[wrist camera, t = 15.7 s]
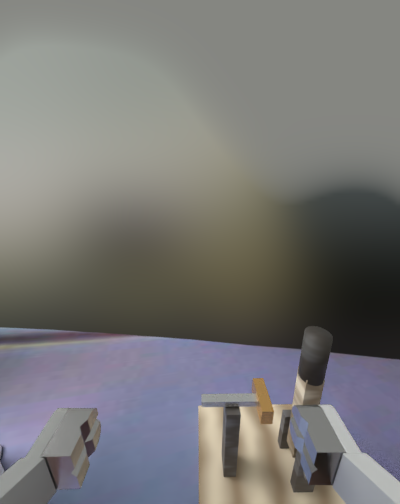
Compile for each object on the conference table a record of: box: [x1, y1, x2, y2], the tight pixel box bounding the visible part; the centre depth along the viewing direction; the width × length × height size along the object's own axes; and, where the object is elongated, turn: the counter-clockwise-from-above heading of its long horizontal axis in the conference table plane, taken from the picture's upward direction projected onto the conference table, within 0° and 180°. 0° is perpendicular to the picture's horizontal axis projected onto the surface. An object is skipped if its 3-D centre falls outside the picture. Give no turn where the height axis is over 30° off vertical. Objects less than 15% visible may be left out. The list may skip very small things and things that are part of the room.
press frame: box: [199, 404, 346, 504], centre depth 33 cm, size 24×20×16 cm
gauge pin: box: [202, 378, 274, 424], centre depth 31 cm, size 10×5×2 cm, turn 91°
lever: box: [287, 326, 333, 458], centre depth 31 cm, size 3×3×22 cm
